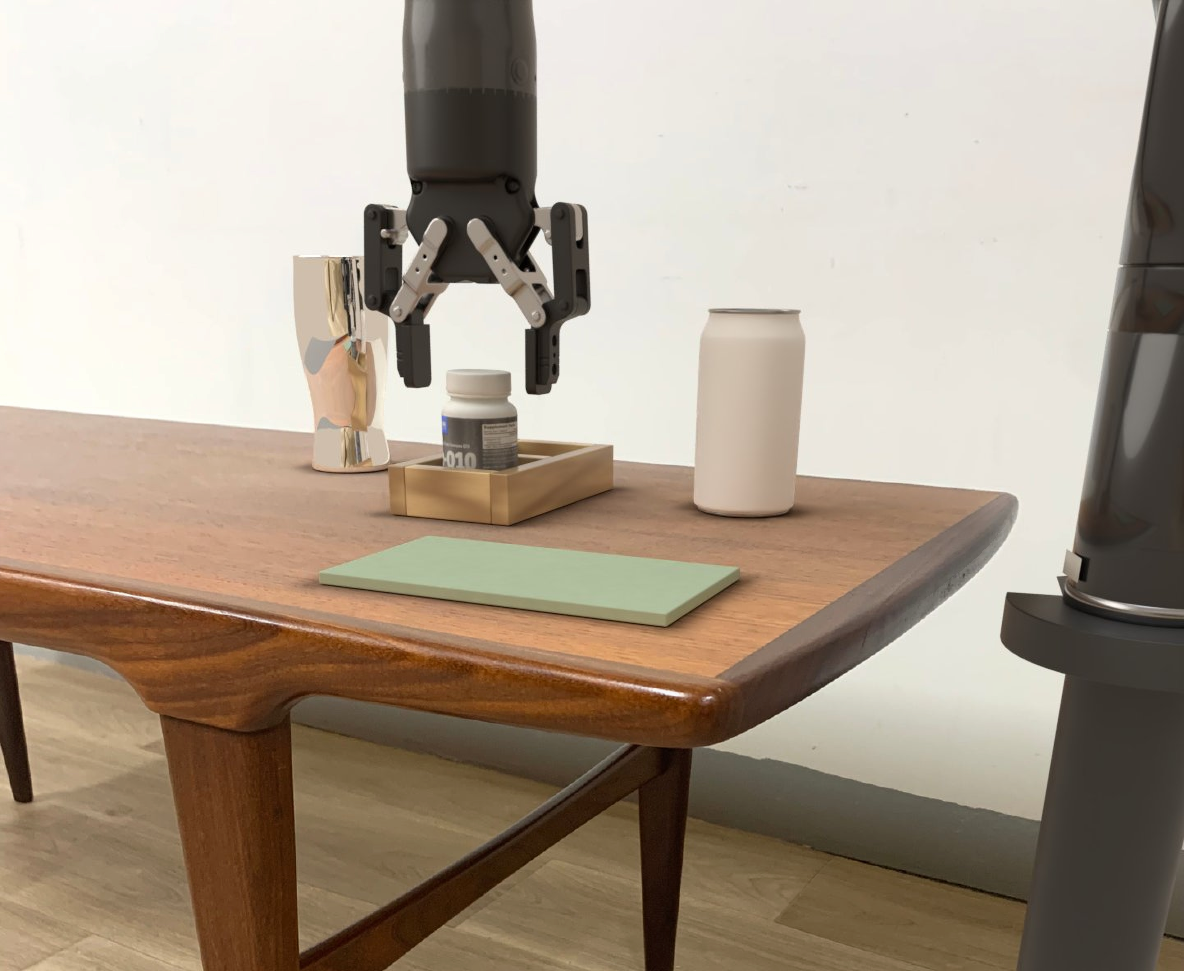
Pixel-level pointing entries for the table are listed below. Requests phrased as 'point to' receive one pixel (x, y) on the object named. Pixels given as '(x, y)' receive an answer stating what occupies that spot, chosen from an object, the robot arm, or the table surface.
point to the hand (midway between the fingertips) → (476, 390)
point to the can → (748, 411)
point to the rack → (502, 483)
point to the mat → (538, 579)
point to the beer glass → (342, 362)
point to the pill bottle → (479, 421)
